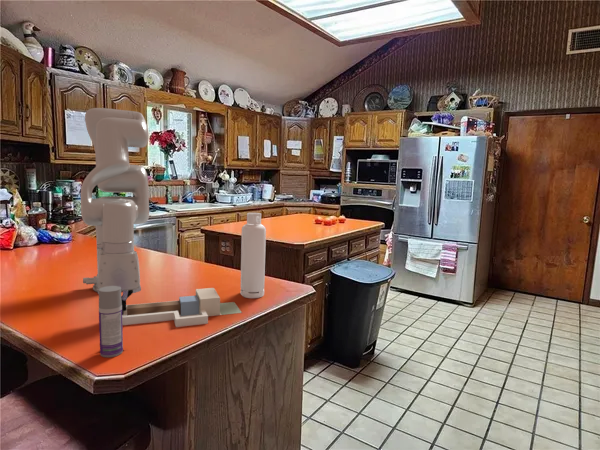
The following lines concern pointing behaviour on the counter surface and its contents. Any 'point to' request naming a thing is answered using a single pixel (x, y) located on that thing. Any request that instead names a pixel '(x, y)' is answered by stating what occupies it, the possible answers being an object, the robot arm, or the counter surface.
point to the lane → (207, 307)
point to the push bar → (154, 308)
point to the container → (110, 321)
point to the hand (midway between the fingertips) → (120, 313)
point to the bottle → (253, 257)
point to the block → (189, 305)
